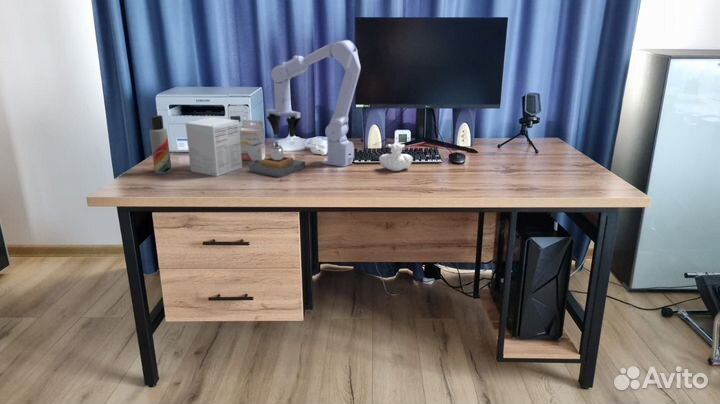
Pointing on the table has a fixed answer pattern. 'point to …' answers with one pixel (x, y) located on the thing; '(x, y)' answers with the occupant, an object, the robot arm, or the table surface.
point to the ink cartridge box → (252, 140)
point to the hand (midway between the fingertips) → (284, 135)
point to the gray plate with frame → (277, 166)
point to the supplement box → (214, 146)
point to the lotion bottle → (160, 146)
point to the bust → (395, 158)
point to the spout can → (277, 153)
